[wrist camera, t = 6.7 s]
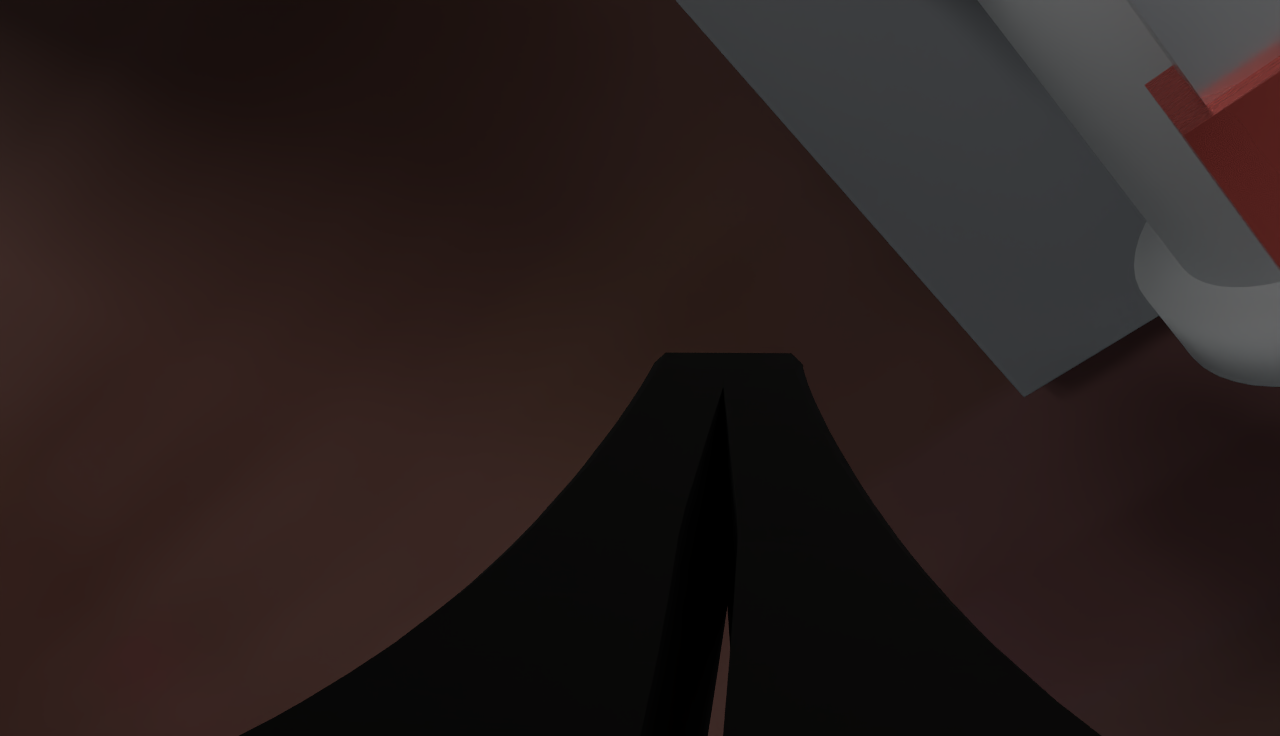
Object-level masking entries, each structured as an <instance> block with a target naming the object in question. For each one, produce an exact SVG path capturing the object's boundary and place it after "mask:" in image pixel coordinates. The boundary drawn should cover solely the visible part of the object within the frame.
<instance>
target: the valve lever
mask: <svg viewBox="0 0 1280 736" xmlns="http://www.w3.org/2000/svg"><path fill="white" fill-rule="evenodd" d="M1126 1H1127V2H1128V3H1129V5H1130V6H1131V8H1132V9H1133V10H1134V12H1135V13H1136V15H1137V16H1138V17H1139V19H1140V20H1141V22H1142V23H1143V24H1144V26H1145V27H1146V29H1147V30H1148V31H1149V33H1150V34H1151V36H1152V37H1153V38H1154V40H1155V41H1156V43H1157V44H1158V45H1159V47H1160V48H1161V50H1162V51H1163V52H1164V54H1165V55H1166V57H1167V58H1168V60H1169V61H1170V62H1171V64H1172V66H1171V67H1169V68H1168V69H1167V70H1165V71H1164V72H1162V73H1161V74H1159V75H1158V76H1157V77H1155V78H1154V79H1152V80H1151V81H1149V82H1148V83H1147V84H1145V87H1146V88H1147V89H1148V91H1149V92H1150V94H1151V95H1152V96H1153V98H1154V99H1155V100H1156V102H1157V103H1158V105H1159V106H1160V107H1161V109H1162V110H1163V111H1164V113H1165V114H1166V116H1167V117H1168V118H1169V120H1170V121H1171V122H1172V124H1173V125H1174V126H1175V128H1176V129H1177V131H1178V132H1179V133H1180V135H1181V136H1182V137H1183V139H1184V140H1185V142H1186V143H1187V144H1188V146H1189V147H1190V148H1191V150H1192V151H1193V153H1194V154H1195V155H1196V157H1197V158H1198V159H1199V161H1200V162H1201V164H1202V165H1203V166H1204V168H1205V169H1206V170H1207V172H1208V173H1209V174H1210V176H1211V177H1212V179H1213V180H1214V181H1215V183H1216V184H1217V185H1218V187H1219V188H1220V190H1221V191H1222V192H1223V194H1224V195H1225V196H1226V198H1227V199H1228V201H1229V202H1230V203H1231V205H1232V206H1233V207H1234V209H1235V210H1236V211H1237V213H1238V214H1239V216H1240V217H1241V218H1242V220H1243V221H1244V222H1245V224H1246V225H1247V227H1248V228H1249V229H1250V231H1251V232H1252V233H1253V235H1254V236H1255V238H1256V239H1257V240H1258V242H1259V243H1260V244H1261V246H1262V247H1263V249H1264V250H1265V251H1266V253H1267V254H1268V255H1269V257H1270V258H1271V259H1272V261H1273V262H1274V264H1275V265H1276V266H1277V268H1278V269H1279V270H1280V0H1126Z"/></svg>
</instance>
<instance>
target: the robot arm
mask: <svg viewBox="0 0 1280 736" xmlns="http://www.w3.org/2000/svg"><path fill="white" fill-rule="evenodd" d="M727 606H728V621H729V636H730V660H729V673H728V684H727V696H726V708H725V720H724V732H723V736H1101V735H1099V734H1098V733H1097V732H1096V731H1094V730H1093V729H1092V728H1090V727H1089V726H1088V725H1087V724H1085V723H1084V722H1083V721H1081V720H1080V719H1079V718H1078V717H1076V716H1075V715H1074V714H1072V713H1071V712H1070V711H1069V710H1067V709H1066V708H1065V707H1063V706H1062V705H1061V704H1059V703H1058V702H1057V701H1056V700H1055V699H1053V698H1052V697H1051V696H1050V695H1049V694H1048V693H1047V692H1046V691H1044V690H1043V689H1042V688H1041V687H1040V686H1039V685H1038V684H1037V683H1036V682H1034V681H1033V680H1032V679H1031V678H1030V677H1029V676H1028V675H1027V674H1025V673H1024V672H1023V671H1022V670H1021V669H1020V668H1019V667H1018V666H1016V665H1015V664H1014V663H1013V662H1012V661H1011V660H1010V659H1009V658H1008V657H1006V656H1005V655H1004V654H1003V653H1002V652H1001V651H1000V650H999V649H997V648H996V647H995V646H994V645H993V644H992V643H991V642H990V641H989V640H988V639H987V638H986V637H985V636H984V635H983V634H982V633H981V632H980V631H979V630H978V629H977V628H976V627H975V626H974V625H973V624H972V623H971V622H970V621H969V619H968V618H967V617H966V616H965V615H964V614H963V613H962V612H961V611H960V610H959V609H958V608H957V607H956V606H955V605H954V604H953V603H952V602H951V601H950V599H949V598H948V597H947V596H946V595H945V594H944V593H943V592H942V590H941V589H940V588H939V587H938V586H937V585H936V584H935V582H934V581H933V580H932V579H931V578H930V577H929V576H928V575H927V573H926V572H925V571H924V570H923V569H922V567H921V566H920V565H919V564H918V562H917V561H916V560H915V559H914V558H913V556H912V555H911V554H910V553H909V551H908V550H907V549H906V547H905V546H904V545H903V544H902V542H901V541H900V540H899V538H898V537H897V536H896V534H895V533H894V532H893V530H892V529H891V527H890V526H889V525H888V523H887V522H886V520H885V519H884V518H883V516H882V515H881V514H880V512H879V511H878V509H877V508H876V507H875V505H874V504H873V502H872V501H871V499H870V498H869V496H868V495H867V493H866V492H865V490H864V489H863V487H862V486H861V484H860V482H859V481H858V479H857V477H856V476H855V474H854V472H853V471H852V469H851V468H850V466H849V464H848V463H847V461H846V459H845V458H844V456H843V454H842V453H841V451H840V449H839V448H838V446H837V444H836V442H835V440H834V439H833V437H832V435H831V433H830V431H829V429H828V427H827V425H826V423H825V421H824V419H823V417H822V415H821V413H820V411H819V409H818V407H817V405H816V403H815V400H814V398H813V396H812V393H811V391H810V388H809V386H808V383H807V380H806V377H805V374H804V370H803V364H802V363H801V362H800V361H799V360H798V359H797V358H796V357H794V356H793V355H792V354H791V353H665V354H664V355H663V356H662V357H660V358H659V359H658V360H657V361H656V362H655V363H654V365H653V367H652V368H651V370H650V372H649V374H648V376H647V377H646V379H645V380H644V382H643V384H642V385H641V387H640V389H639V390H638V392H637V393H636V395H635V396H634V398H633V399H632V401H631V402H630V404H629V405H628V407H627V408H626V410H625V411H624V413H623V414H622V415H621V417H620V418H619V420H618V421H617V423H616V424H615V425H614V427H613V428H612V430H611V431H610V432H609V433H608V435H607V436H606V437H605V439H604V440H603V441H602V443H601V444H600V445H599V446H598V448H597V449H596V450H595V452H594V453H593V454H592V456H591V457H590V458H589V460H588V461H587V462H586V463H585V465H584V466H583V467H582V468H581V470H580V471H579V472H578V473H577V475H576V476H575V477H574V478H573V479H572V480H571V482H570V483H569V484H568V485H567V486H566V487H565V488H564V489H563V491H562V492H561V493H560V494H559V495H558V496H557V497H556V498H555V500H554V501H553V502H552V503H551V504H550V505H549V506H548V507H547V509H546V510H545V511H544V512H543V513H542V514H541V515H540V516H539V518H538V519H537V520H536V521H535V522H534V523H533V524H532V525H531V526H530V527H529V528H528V529H527V530H526V531H525V532H524V533H523V534H522V535H521V536H520V537H519V538H518V539H517V540H516V541H515V542H514V544H513V545H511V546H510V547H509V548H508V549H507V550H506V551H505V552H504V553H503V554H502V555H501V556H500V557H499V558H498V559H497V560H496V561H495V562H494V563H492V564H491V565H490V566H489V567H488V568H487V569H486V570H485V571H484V572H483V573H482V574H480V575H479V576H478V577H477V578H476V579H475V580H474V581H473V582H472V583H470V584H469V585H468V586H467V587H466V588H465V589H463V590H462V591H461V592H460V593H458V594H457V595H456V596H455V597H454V598H452V599H451V600H450V601H449V602H447V603H446V604H445V605H444V606H442V607H441V608H440V609H439V610H437V611H436V612H435V613H433V614H432V615H431V616H429V617H428V618H427V619H425V620H424V621H423V622H422V623H420V624H419V625H418V626H416V627H415V628H414V629H412V630H411V631H410V632H408V633H407V634H406V635H404V636H403V637H402V638H401V639H399V640H398V641H397V642H395V643H394V644H392V645H391V646H389V647H388V648H386V649H385V650H383V651H382V652H380V653H379V654H377V655H376V656H374V657H373V658H371V659H370V660H368V661H367V662H365V663H364V664H362V665H361V666H359V667H358V668H356V669H355V670H353V671H352V672H350V673H349V674H347V675H345V676H344V677H342V678H340V679H339V680H337V681H335V682H334V683H332V684H331V685H329V686H327V687H326V688H324V689H322V690H321V691H319V692H317V693H316V694H314V695H313V696H311V697H309V698H308V699H306V700H304V701H303V702H301V703H299V704H297V705H296V706H294V707H292V708H290V709H289V710H287V711H285V712H283V713H281V714H280V715H278V716H276V717H274V718H272V719H270V720H269V721H267V722H265V723H263V724H261V725H259V726H257V727H255V728H253V729H251V730H249V731H247V732H245V733H243V734H241V735H240V736H708V730H709V724H710V717H711V711H712V704H713V698H714V691H715V685H716V678H717V672H718V665H719V659H720V652H721V645H722V639H723V632H724V625H725V619H726V612H727Z"/></svg>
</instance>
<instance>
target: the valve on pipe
mask: <svg viewBox="0 0 1280 736" xmlns="http://www.w3.org/2000/svg"><path fill="white" fill-rule="evenodd" d="M676 1H677V2H678V4H679V5H680V6H681V7H682V8H683V9H684V10H685V12H686V13H687V14H688V15H689V16H690V17H691V18H692V20H693V21H694V22H695V23H696V24H697V25H698V26H699V28H700V29H701V30H702V31H703V32H704V33H705V34H706V35H707V37H708V38H709V39H710V40H711V41H712V42H713V43H714V45H715V46H716V47H717V48H718V49H719V50H720V51H721V53H722V54H723V55H724V56H725V57H726V58H727V59H728V61H729V62H730V63H731V64H732V65H733V66H734V67H735V69H736V70H737V71H738V72H739V73H740V74H741V75H742V77H743V78H744V79H745V80H746V81H747V82H748V83H749V85H750V86H751V87H752V88H753V89H754V90H755V91H756V92H757V94H758V95H759V96H760V97H761V98H762V99H763V100H764V102H765V103H766V104H767V105H768V106H769V107H770V108H771V110H772V111H773V112H774V113H775V114H776V115H777V116H778V118H779V119H780V120H781V121H782V122H783V123H784V124H785V126H786V127H787V128H788V129H789V130H790V131H791V132H792V134H793V135H794V136H795V137H796V138H797V139H798V140H799V141H800V143H801V144H802V145H803V146H804V147H805V148H806V149H807V151H808V152H809V153H810V154H811V155H812V156H813V157H814V159H815V160H816V161H817V162H818V163H819V164H820V165H821V167H822V168H823V169H824V170H825V171H826V172H827V173H828V175H829V176H830V177H831V178H832V179H833V180H834V181H835V183H836V184H837V185H838V186H839V187H840V188H841V189H842V191H843V192H844V193H845V194H846V195H847V196H848V197H849V198H850V200H851V201H852V202H853V203H854V204H855V205H856V206H857V208H858V209H859V210H860V211H861V212H862V213H863V214H864V216H865V217H866V218H867V219H868V220H869V221H870V222H871V224H872V225H873V226H874V227H875V228H876V229H877V230H878V232H879V233H880V234H881V235H882V236H883V237H884V238H885V240H886V241H887V242H888V243H889V244H890V245H891V246H892V248H893V249H894V250H895V251H896V252H897V253H898V254H899V255H900V257H901V258H902V259H903V260H904V261H905V262H906V263H907V265H908V266H909V267H910V268H911V269H912V270H913V271H914V273H915V274H916V275H917V276H918V277H919V278H920V279H921V281H922V282H923V283H924V284H925V285H926V286H927V287H928V289H929V290H930V291H931V292H932V293H933V294H934V295H935V297H936V298H937V299H938V300H939V301H940V302H941V303H942V305H943V306H944V307H945V308H946V309H947V310H948V311H949V312H950V314H951V315H952V316H953V317H954V318H955V319H956V320H957V322H958V323H959V324H960V325H961V326H962V327H963V328H964V330H965V331H966V332H967V333H968V334H969V335H970V336H971V338H972V339H973V340H974V341H975V342H976V343H977V344H978V346H979V347H980V348H981V349H982V350H983V351H984V352H985V354H986V355H987V356H988V357H989V358H990V359H991V360H992V361H993V363H994V364H995V365H996V366H997V367H998V368H999V369H1000V371H1001V372H1002V373H1003V374H1004V375H1005V376H1006V377H1007V379H1008V380H1009V381H1010V382H1011V383H1012V384H1013V385H1014V387H1015V388H1016V389H1017V390H1018V391H1019V392H1020V393H1021V395H1022V396H1023V397H1025V396H1027V395H1029V394H1030V393H1032V392H1034V391H1035V390H1037V389H1039V388H1040V387H1042V386H1044V385H1045V384H1047V383H1048V382H1050V381H1052V380H1053V379H1055V378H1057V377H1058V376H1060V375H1062V374H1063V373H1065V372H1067V371H1068V370H1070V369H1072V368H1073V367H1075V366H1077V365H1078V364H1080V363H1082V362H1083V361H1085V360H1086V359H1088V358H1090V357H1091V356H1093V355H1095V354H1096V353H1098V352H1100V351H1101V350H1103V349H1105V348H1106V347H1108V346H1110V345H1111V344H1113V343H1115V342H1116V341H1118V340H1120V339H1121V338H1123V337H1125V336H1126V335H1128V334H1129V333H1131V332H1133V331H1134V330H1136V329H1138V328H1139V327H1141V326H1143V325H1144V324H1146V323H1148V322H1149V321H1151V320H1153V319H1154V318H1156V317H1158V316H1160V317H1161V318H1162V320H1163V321H1164V322H1165V323H1166V325H1167V326H1168V327H1169V328H1170V330H1171V331H1172V332H1173V333H1174V335H1175V336H1176V337H1177V338H1178V340H1179V341H1180V342H1181V344H1182V345H1183V346H1184V347H1185V349H1186V350H1187V351H1188V352H1189V354H1190V355H1191V356H1192V357H1193V359H1194V360H1196V361H1197V362H1198V363H1199V364H1200V365H1201V366H1202V367H1204V368H1205V369H1207V370H1209V371H1210V372H1212V373H1214V374H1216V375H1217V376H1220V377H1223V378H1226V379H1228V380H1231V381H1234V382H1239V383H1244V384H1249V385H1256V386H1271V387H1280V270H1279V269H1278V268H1277V266H1276V265H1275V264H1274V262H1273V261H1272V259H1271V258H1270V257H1269V255H1268V254H1267V253H1266V251H1265V250H1264V249H1263V247H1262V246H1261V244H1260V243H1259V242H1258V240H1257V239H1256V238H1255V236H1254V235H1253V233H1252V232H1251V231H1250V229H1249V228H1248V227H1247V225H1246V224H1245V222H1244V221H1243V220H1242V218H1241V217H1240V216H1239V214H1238V213H1237V211H1236V210H1235V209H1234V207H1233V206H1232V205H1231V203H1230V202H1229V201H1228V199H1227V198H1226V196H1225V195H1224V194H1223V192H1222V191H1221V190H1220V188H1219V187H1218V185H1217V184H1216V183H1215V181H1214V180H1213V179H1212V177H1211V176H1210V174H1209V173H1208V172H1207V170H1206V169H1205V168H1204V166H1203V165H1202V164H1201V162H1200V161H1199V159H1198V158H1197V157H1196V155H1195V154H1194V153H1193V151H1192V150H1191V148H1190V147H1189V146H1188V144H1187V143H1186V142H1185V140H1184V139H1183V137H1182V136H1181V135H1180V133H1179V132H1178V131H1177V129H1176V128H1175V126H1174V125H1173V124H1172V122H1171V121H1170V120H1169V118H1168V117H1167V116H1166V114H1165V113H1164V111H1163V110H1162V109H1161V107H1160V106H1159V105H1158V103H1157V102H1156V100H1155V99H1154V98H1153V96H1152V95H1151V94H1150V92H1149V91H1148V89H1147V88H1146V87H1145V84H1147V83H1148V82H1149V81H1151V80H1152V79H1154V78H1155V77H1157V76H1158V75H1159V74H1161V73H1162V72H1164V71H1165V70H1167V69H1168V68H1169V67H1171V66H1172V64H1171V62H1170V61H1169V60H1168V58H1167V57H1166V55H1165V54H1164V52H1163V51H1162V50H1161V48H1160V47H1159V45H1158V44H1157V43H1156V41H1155V40H1154V38H1153V37H1152V36H1151V34H1150V33H1149V31H1148V30H1147V29H1146V27H1145V26H1144V24H1143V23H1142V22H1141V20H1140V19H1139V17H1138V16H1137V15H1136V13H1135V12H1134V10H1133V9H1132V8H1131V6H1130V5H1129V3H1128V2H1127V1H1126V0H676Z"/></svg>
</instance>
